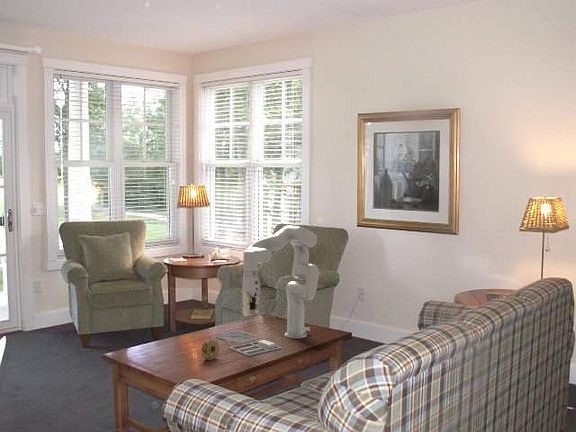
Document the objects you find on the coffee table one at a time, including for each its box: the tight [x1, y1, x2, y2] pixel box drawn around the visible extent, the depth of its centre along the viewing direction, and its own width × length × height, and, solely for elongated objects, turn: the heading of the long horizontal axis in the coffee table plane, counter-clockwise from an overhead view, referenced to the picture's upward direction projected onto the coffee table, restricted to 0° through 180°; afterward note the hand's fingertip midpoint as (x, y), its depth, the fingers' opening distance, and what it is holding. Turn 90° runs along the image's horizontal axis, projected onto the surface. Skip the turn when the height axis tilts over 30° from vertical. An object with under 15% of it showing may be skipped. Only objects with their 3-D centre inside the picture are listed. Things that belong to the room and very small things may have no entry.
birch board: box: [242, 292, 260, 317], centre depth 325 cm, size 8×3×12 cm, turn 131°
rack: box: [228, 339, 283, 358], centre depth 329 cm, size 22×17×2 cm
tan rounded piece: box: [201, 338, 220, 361], centre depth 314 cm, size 10×4×10 cm, turn 143°
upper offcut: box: [257, 339, 276, 350], centre depth 333 cm, size 4×9×2 cm, turn 43°
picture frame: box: [215, 329, 264, 344], centre depth 352 cm, size 16×2×22 cm
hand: (250, 308), depth 326 cm, fingers closed on birch board, 3 cm apart
